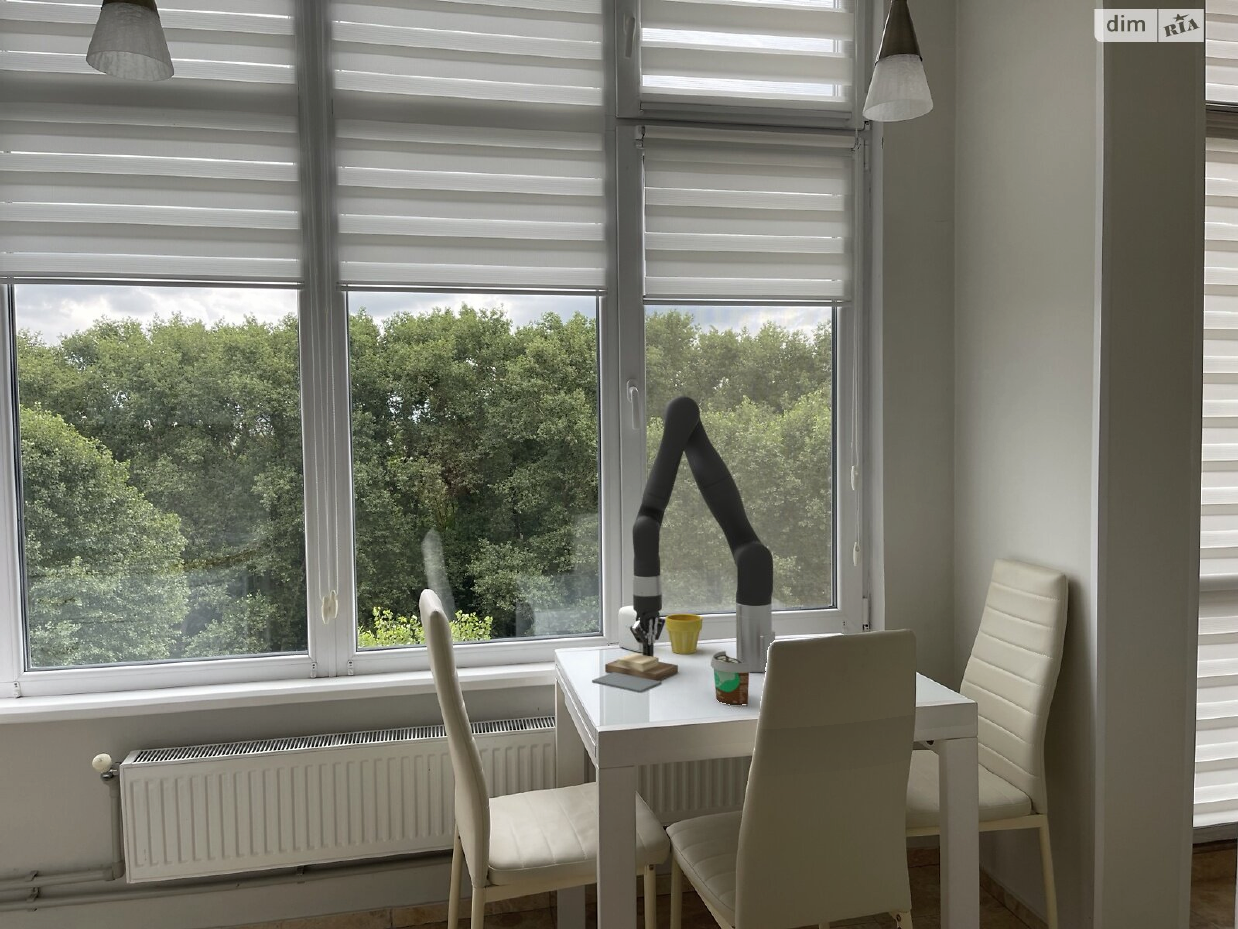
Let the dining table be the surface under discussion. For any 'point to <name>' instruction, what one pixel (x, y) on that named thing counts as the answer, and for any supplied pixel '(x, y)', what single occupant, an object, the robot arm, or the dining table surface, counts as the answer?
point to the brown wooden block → (653, 673)
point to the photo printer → (628, 629)
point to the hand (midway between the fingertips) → (648, 657)
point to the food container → (730, 679)
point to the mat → (627, 682)
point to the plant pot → (684, 632)
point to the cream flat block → (638, 662)
